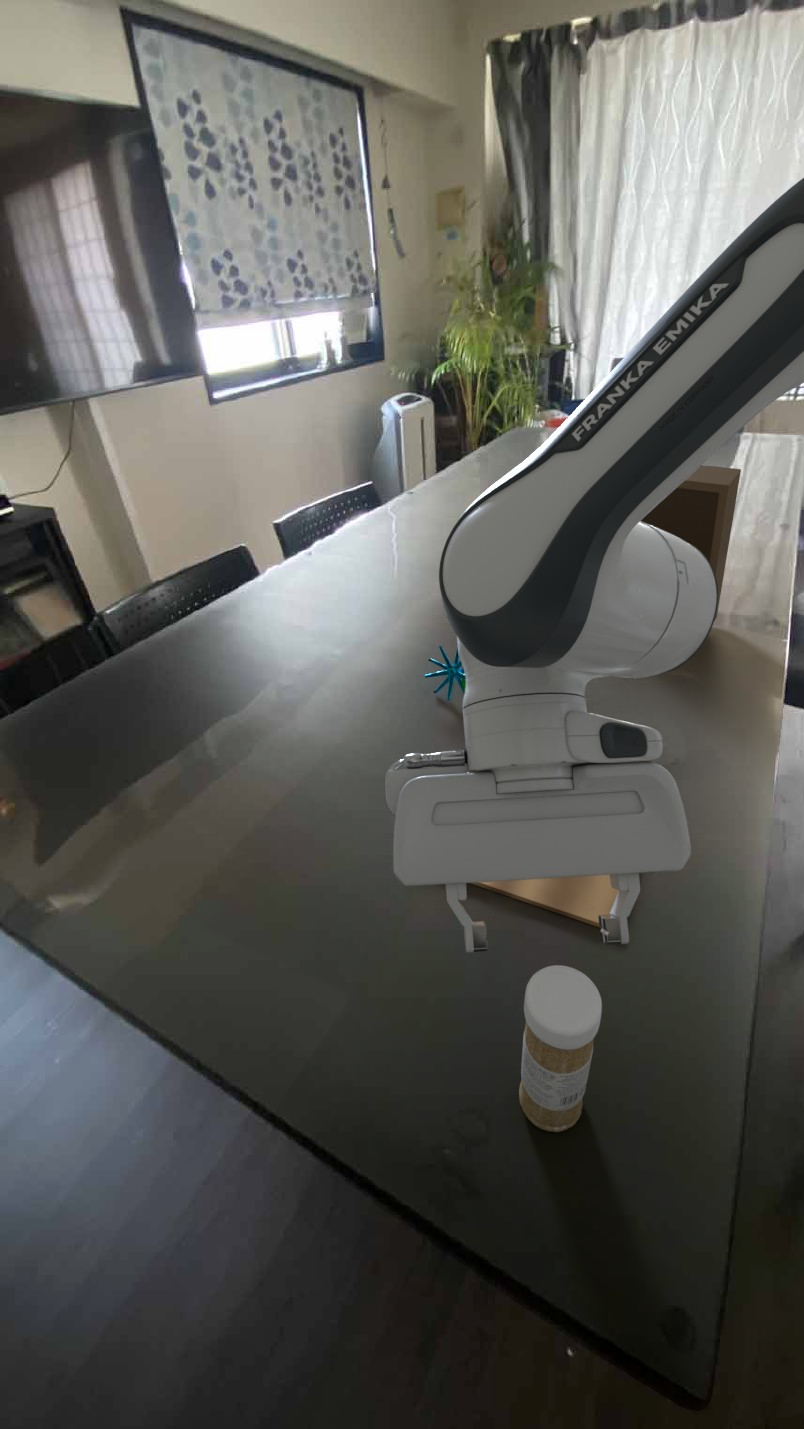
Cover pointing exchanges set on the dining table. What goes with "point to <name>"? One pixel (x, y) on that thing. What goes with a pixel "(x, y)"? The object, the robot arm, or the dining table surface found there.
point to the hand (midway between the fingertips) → (545, 946)
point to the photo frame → (702, 514)
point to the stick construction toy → (449, 673)
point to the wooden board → (562, 895)
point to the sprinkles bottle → (557, 1045)
